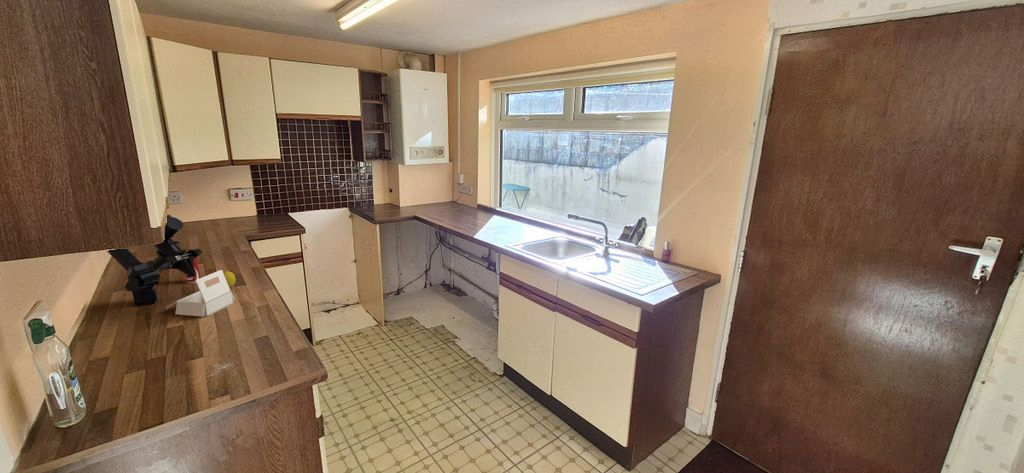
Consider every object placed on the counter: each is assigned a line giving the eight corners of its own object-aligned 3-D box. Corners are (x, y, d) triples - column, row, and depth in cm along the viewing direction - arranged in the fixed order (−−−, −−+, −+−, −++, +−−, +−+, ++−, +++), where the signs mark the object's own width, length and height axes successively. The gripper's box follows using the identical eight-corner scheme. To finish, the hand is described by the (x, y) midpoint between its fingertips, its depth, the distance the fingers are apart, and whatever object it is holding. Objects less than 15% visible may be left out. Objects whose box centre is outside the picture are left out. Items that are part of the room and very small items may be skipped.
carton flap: (204, 302, 152) (195, 280, 150) (229, 291, 163) (220, 269, 161) (205, 302, 152) (196, 279, 150) (230, 290, 163) (222, 269, 161)
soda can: (203, 280, 187) (199, 255, 184) (190, 284, 183) (186, 258, 180) (196, 278, 190) (192, 253, 187) (184, 282, 185) (179, 256, 182)
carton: (162, 314, 153) (159, 302, 152) (197, 298, 168) (195, 286, 167) (203, 318, 151) (201, 305, 150) (236, 301, 166) (234, 289, 165)
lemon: (229, 291, 176) (226, 273, 174) (218, 290, 177) (215, 272, 175) (239, 286, 181) (237, 269, 179) (229, 285, 182) (226, 268, 180)
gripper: (167, 252, 165) (195, 282, 167) (126, 261, 146) (158, 295, 149) (189, 235, 164) (216, 266, 167) (151, 243, 146) (182, 277, 148)
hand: (194, 276), depth 158 cm, fingers closed
